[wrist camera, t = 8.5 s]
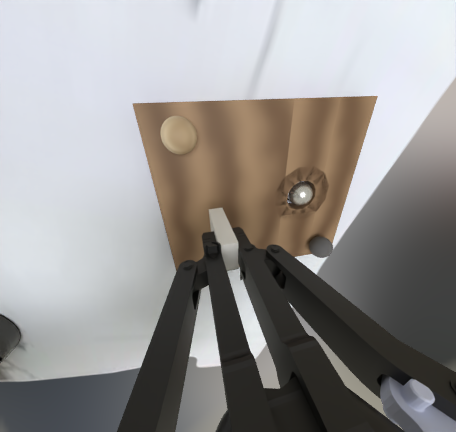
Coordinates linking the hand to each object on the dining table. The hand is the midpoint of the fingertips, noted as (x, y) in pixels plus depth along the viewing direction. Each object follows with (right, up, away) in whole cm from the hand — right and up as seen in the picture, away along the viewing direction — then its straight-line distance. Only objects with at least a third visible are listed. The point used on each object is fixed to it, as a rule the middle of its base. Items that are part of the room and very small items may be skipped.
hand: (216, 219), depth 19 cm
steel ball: (+12, +4, +7) cm, 14 cm away
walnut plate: (+6, +4, +7) cm, 10 cm away
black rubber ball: (+17, -5, +9) cm, 20 cm away
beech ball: (-4, +8, -2) cm, 9 cm away
